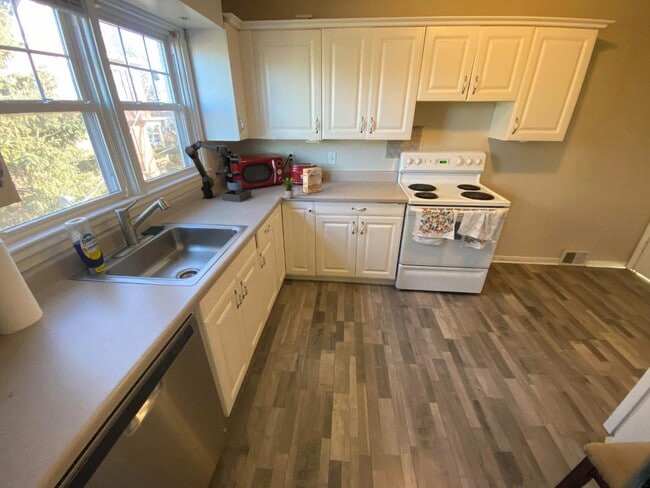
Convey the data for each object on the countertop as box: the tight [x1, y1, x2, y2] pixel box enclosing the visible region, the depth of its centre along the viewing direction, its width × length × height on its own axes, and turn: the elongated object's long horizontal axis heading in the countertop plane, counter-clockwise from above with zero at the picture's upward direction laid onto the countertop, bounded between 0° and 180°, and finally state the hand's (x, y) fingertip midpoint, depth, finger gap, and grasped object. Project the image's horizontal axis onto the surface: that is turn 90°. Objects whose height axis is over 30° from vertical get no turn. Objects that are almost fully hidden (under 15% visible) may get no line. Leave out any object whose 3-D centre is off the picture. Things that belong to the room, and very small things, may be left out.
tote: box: [221, 189, 252, 203], centre depth 217 cm, size 16×16×5 cm
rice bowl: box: [227, 179, 243, 191], centre depth 212 cm, size 10×10×5 cm
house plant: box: [282, 177, 298, 200], centre depth 216 cm, size 14×14×16 cm
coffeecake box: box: [302, 166, 323, 195], centre depth 235 cm, size 15×7×20 cm, turn 129°
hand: (229, 184), depth 213 cm, fingers closed on rice bowl
